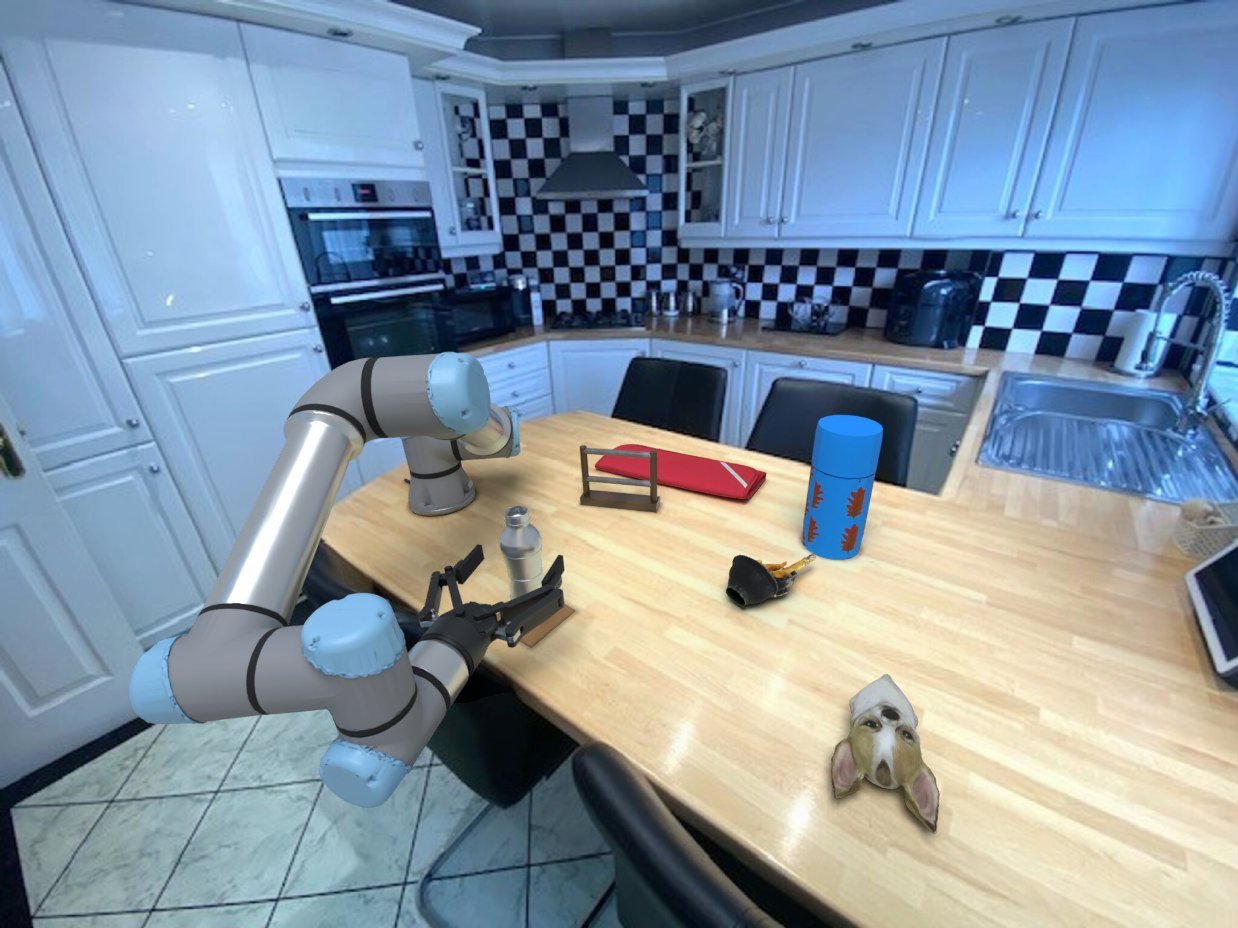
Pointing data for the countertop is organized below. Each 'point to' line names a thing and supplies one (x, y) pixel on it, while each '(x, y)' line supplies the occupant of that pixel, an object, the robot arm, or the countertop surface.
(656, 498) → the rail rack
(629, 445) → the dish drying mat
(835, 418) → the thermos
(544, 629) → the coaster
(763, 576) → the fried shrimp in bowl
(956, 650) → the countertop surface
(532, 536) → the silver water bottle
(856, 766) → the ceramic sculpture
